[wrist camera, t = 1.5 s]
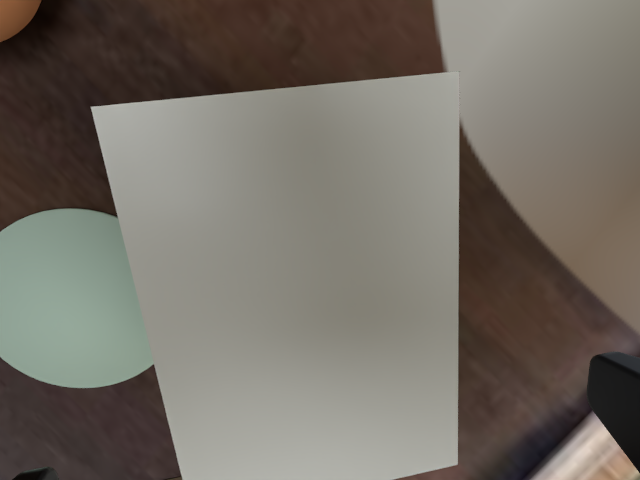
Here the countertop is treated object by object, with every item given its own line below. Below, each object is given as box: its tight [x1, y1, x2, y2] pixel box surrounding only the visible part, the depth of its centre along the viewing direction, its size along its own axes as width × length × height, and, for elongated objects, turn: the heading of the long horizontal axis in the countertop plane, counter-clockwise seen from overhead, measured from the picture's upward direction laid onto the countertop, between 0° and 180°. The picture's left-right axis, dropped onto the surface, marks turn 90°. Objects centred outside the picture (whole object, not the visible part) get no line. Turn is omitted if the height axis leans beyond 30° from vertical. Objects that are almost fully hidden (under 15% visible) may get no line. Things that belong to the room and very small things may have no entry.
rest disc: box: [0, 208, 154, 388], centre depth 18 cm, size 8×8×1 cm
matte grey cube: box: [91, 71, 460, 480], centre depth 15 cm, size 11×8×9 cm
